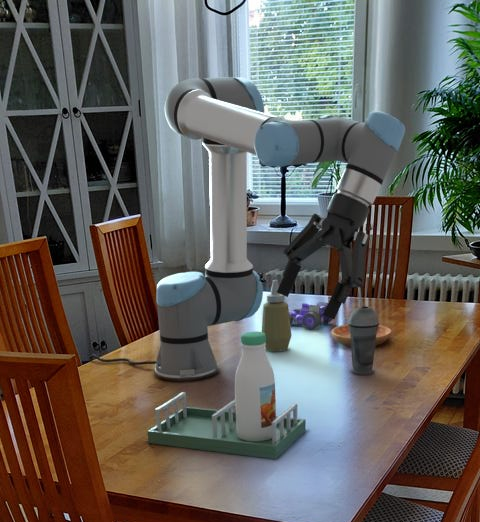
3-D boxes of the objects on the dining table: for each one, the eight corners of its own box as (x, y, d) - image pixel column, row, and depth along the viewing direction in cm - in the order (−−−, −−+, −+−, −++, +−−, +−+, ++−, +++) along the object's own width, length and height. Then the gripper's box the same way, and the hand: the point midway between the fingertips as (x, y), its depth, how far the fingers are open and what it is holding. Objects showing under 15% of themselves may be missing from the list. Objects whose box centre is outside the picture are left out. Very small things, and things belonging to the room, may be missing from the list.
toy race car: (290, 318, 262) (290, 296, 260) (333, 323, 254) (333, 301, 252) (272, 325, 256) (272, 303, 253) (316, 330, 248) (316, 307, 245)
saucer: (394, 347, 228) (395, 336, 226) (333, 349, 228) (334, 338, 227) (386, 332, 242) (387, 322, 241) (329, 335, 243) (329, 324, 241)
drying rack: (148, 443, 171) (145, 412, 168) (186, 417, 184) (183, 388, 181) (275, 459, 160) (274, 426, 157) (305, 431, 173) (305, 400, 170)
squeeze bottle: (297, 347, 232) (296, 278, 224) (282, 354, 226) (280, 284, 218) (271, 344, 236) (269, 276, 228) (255, 351, 230) (253, 282, 222)
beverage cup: (376, 376, 205) (379, 290, 196) (345, 375, 206) (347, 290, 198) (378, 367, 211) (381, 284, 203) (348, 367, 213) (350, 284, 204)
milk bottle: (248, 445, 164) (244, 341, 156) (230, 433, 171) (225, 332, 162) (283, 437, 168) (281, 334, 159) (264, 426, 174) (261, 326, 165)
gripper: (412, 223, 158) (361, 332, 164) (320, 191, 174) (275, 291, 179) (390, 209, 153) (337, 322, 158) (296, 176, 168) (251, 280, 174)
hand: (304, 305), depth 169 cm, fingers open, 13 cm apart
